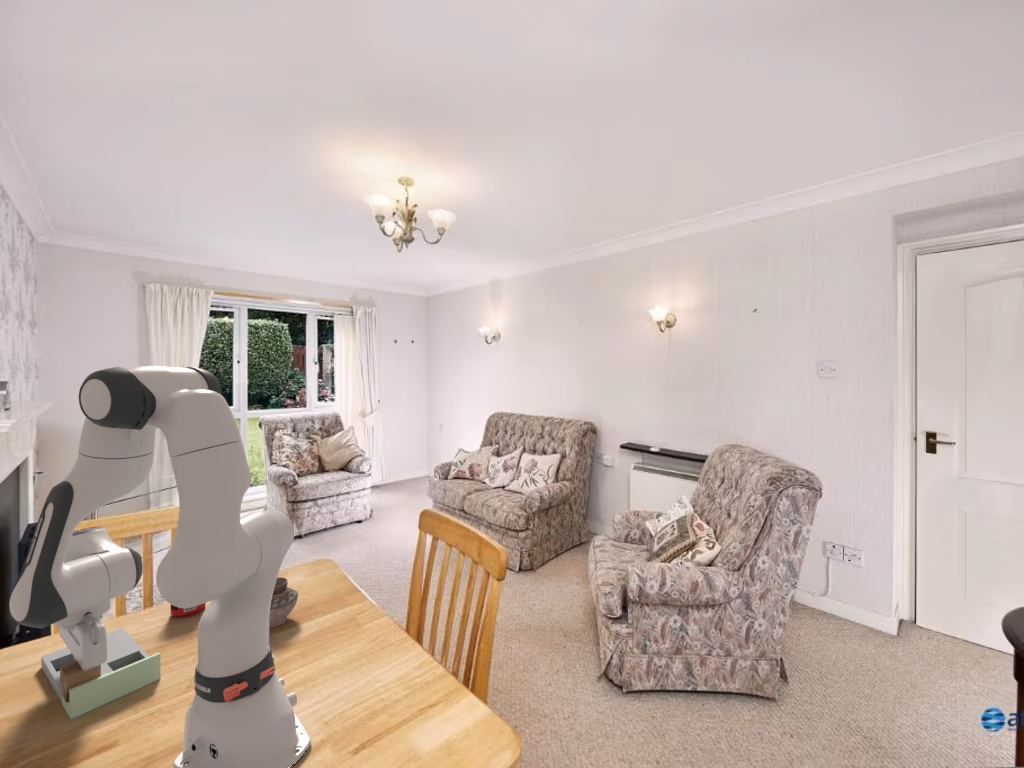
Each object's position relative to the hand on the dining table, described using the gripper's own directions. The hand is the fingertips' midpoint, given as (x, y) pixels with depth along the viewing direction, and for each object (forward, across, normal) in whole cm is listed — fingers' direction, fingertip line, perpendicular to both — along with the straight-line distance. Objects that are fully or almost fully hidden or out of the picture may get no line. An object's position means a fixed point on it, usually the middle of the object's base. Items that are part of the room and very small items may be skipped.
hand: (82, 671), depth 93 cm
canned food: (+4, +18, -25) cm, 31 cm away
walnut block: (+1, -5, +1) cm, 5 cm away
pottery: (+4, 0, -34) cm, 34 cm away
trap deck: (+4, +4, -4) cm, 6 cm away
